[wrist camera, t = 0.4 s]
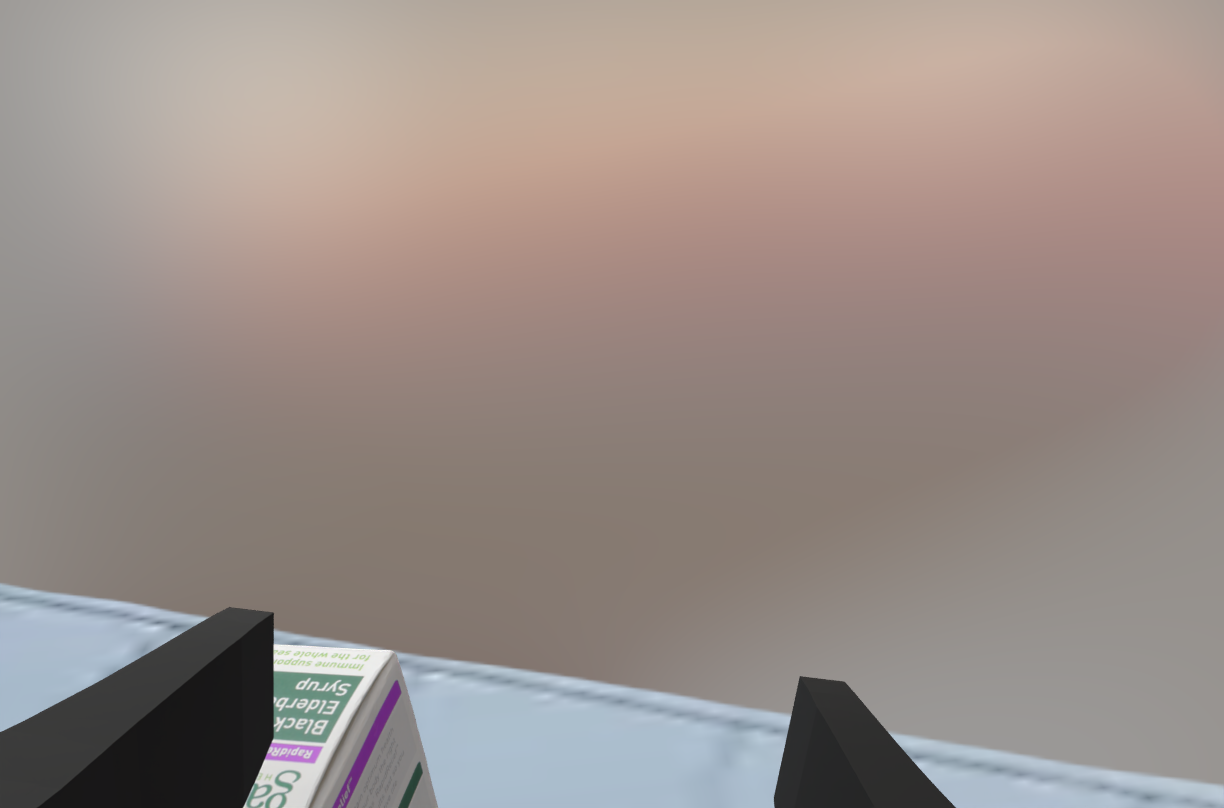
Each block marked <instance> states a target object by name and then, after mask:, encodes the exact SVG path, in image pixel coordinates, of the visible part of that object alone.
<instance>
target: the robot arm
mask: <svg viewBox="0 0 1224 808" xmlns="http://www.w3.org/2000/svg"><path fill="white" fill-rule="evenodd" d="M273 618H274V613H273V612H264V611H256V610H248V609H240V608H231V607H229V608H227V609H225V610H223V611H221V612H219V613H217V614H215V615H213V616H211V617H210V618H208V619H206V620H204V621H203V622H201V623H199V624H197V625H196V626H194V627H192V628H191V629H189V630H187V631H185V632H184V633H182V634H180V635H179V636H177V637H175V638H174V639H172V640H170V641H168V642H167V643H165V644H163V645H162V646H160V647H158V648H157V649H155V650H153V651H151V652H150V653H148V654H146V655H145V656H143V657H141V658H139V659H138V660H136V661H134V662H132V663H131V664H129V665H127V666H125V667H124V668H122V669H120V670H118V671H117V672H115V673H113V674H112V675H110V676H108V677H106V678H105V679H103V680H101V681H99V682H97V683H95V684H94V685H92V686H90V687H88V688H86V689H84V690H82V691H80V692H78V693H76V694H74V695H73V696H71V697H69V698H67V699H65V700H63V701H61V702H59V703H57V704H55V705H53V706H52V707H50V708H48V709H46V710H44V711H42V712H40V713H38V714H36V715H34V716H33V717H31V718H29V719H27V720H25V721H23V722H21V723H19V724H17V725H15V726H12V727H10V728H8V729H6V730H4V731H2V732H0V808H243V807H244V805H245V803H246V801H247V799H248V796H249V794H250V792H251V790H252V787H253V785H254V783H255V781H256V779H257V776H258V774H259V772H260V769H261V767H262V765H263V762H264V760H265V757H266V755H267V753H268V750H269V748H270V746H271V743H272V741H273V738H274V619H273ZM774 806H775V808H956V807H955V806H954V805H953V804H952V803H951V802H950V801H949V800H948V799H947V798H946V797H945V796H944V795H943V794H942V793H941V792H940V791H939V790H938V788H937V787H936V786H935V785H934V784H933V783H932V782H931V781H930V780H929V779H928V778H927V776H926V775H925V774H924V773H923V772H922V771H921V770H920V769H919V768H918V766H917V765H916V764H915V763H914V762H913V761H912V760H911V759H910V757H909V756H908V755H907V754H906V753H905V752H904V751H903V749H902V748H901V747H900V746H899V745H898V744H897V742H896V741H895V740H894V739H893V738H892V737H891V735H890V734H889V733H888V732H887V731H886V730H885V728H884V727H883V726H882V725H881V724H880V723H879V721H878V720H877V719H876V718H875V717H874V715H873V714H872V713H871V712H870V711H869V710H868V709H867V707H866V706H865V705H864V704H863V702H862V701H861V700H860V699H859V698H858V696H857V695H856V694H855V693H854V692H853V691H852V690H851V688H850V687H849V686H848V685H847V684H846V683H845V682H842V681H834V680H826V679H817V678H809V677H801V676H800V678H799V683H798V688H797V692H796V697H795V702H794V706H793V711H792V716H791V720H790V725H789V730H788V734H787V739H786V744H785V748H784V753H783V758H782V762H781V767H780V771H779V776H778V781H777V785H776V790H775V795H774Z"/></svg>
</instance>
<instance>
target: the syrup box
mask: <svg viewBox="0 0 1224 808" xmlns="http://www.w3.org/2000/svg"><path fill="white" fill-rule="evenodd" d="M243 808H438V805H437V801H436V798H435V794H434V790H433V786H432V782H431V778H430V774H429V770H428V766H427V761H426V757H425V753H424V750H423V746H422V742H421V738H420V735H419V731H418V728H417V724H416V719H415V716H414V712H413V709H412V705H411V701H410V698H409V694H408V690H407V687H406V684H405V680H404V677H403V673H402V670H401V667H400V664H399V661H398V658H397V655H396V654H395V653H394V652H393V651H391V650H365V649H348V648H330V647H315V646H294V645H276V644H274V738H273V741H272V743H271V746H270V748H269V750H268V753H267V755H266V757H265V760H264V762H263V765H262V767H261V769H260V772H259V774H258V776H257V779H256V781H255V783H254V785H253V787H252V790H251V792H250V794H249V796H248V799H247V801H246V803H245V805H244V807H243Z"/></svg>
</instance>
